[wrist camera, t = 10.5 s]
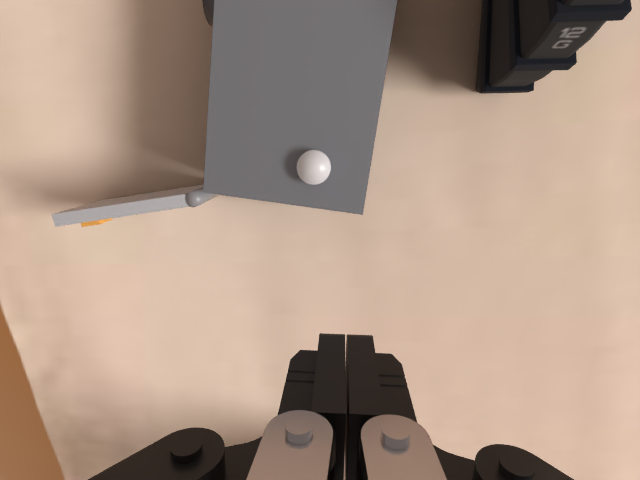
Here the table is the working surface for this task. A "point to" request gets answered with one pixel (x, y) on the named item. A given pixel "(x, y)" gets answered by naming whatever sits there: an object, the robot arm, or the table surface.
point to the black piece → (536, 38)
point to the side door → (132, 206)
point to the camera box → (295, 99)
